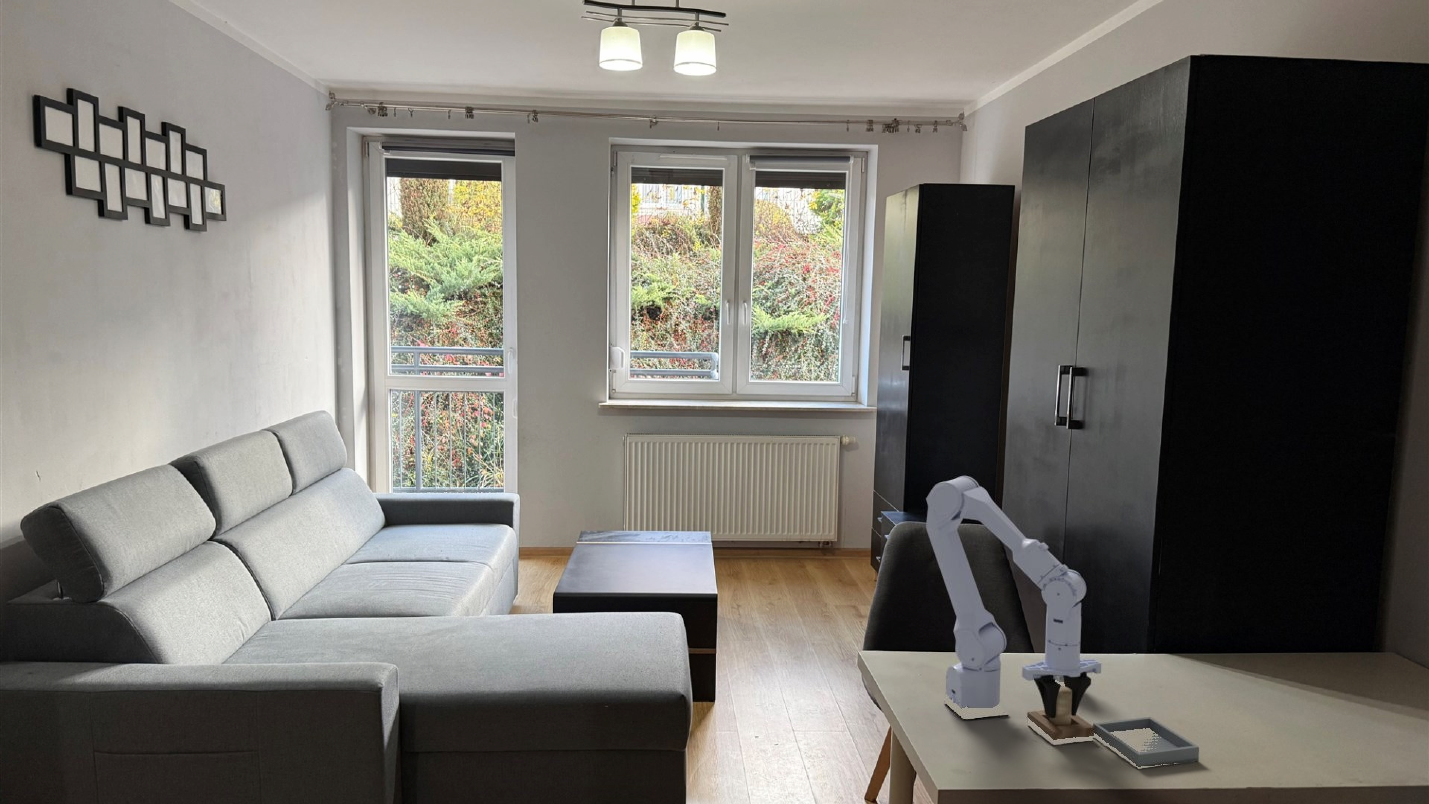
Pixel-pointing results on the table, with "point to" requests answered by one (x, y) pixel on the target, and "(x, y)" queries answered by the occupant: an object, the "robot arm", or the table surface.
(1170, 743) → the tray
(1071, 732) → the frame
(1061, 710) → the dowel
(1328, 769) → the table surface
